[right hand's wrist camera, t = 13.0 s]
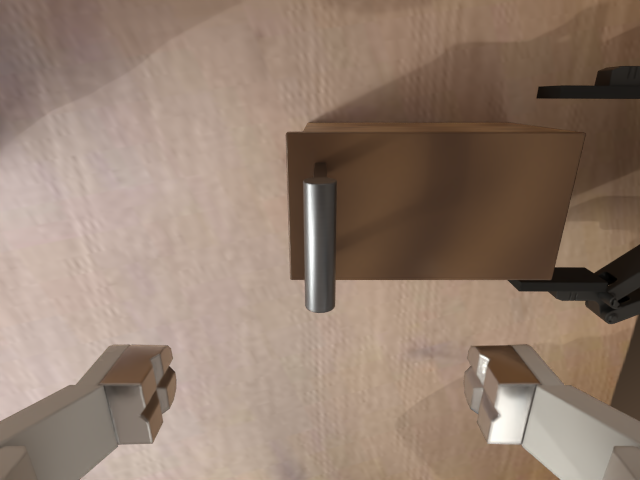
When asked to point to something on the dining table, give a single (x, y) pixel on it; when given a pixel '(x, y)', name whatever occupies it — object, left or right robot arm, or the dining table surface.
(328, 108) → the dining table surface
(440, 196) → the brown panel with handle
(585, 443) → the right robot arm
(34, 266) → the dining table surface
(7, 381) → the dining table surface
